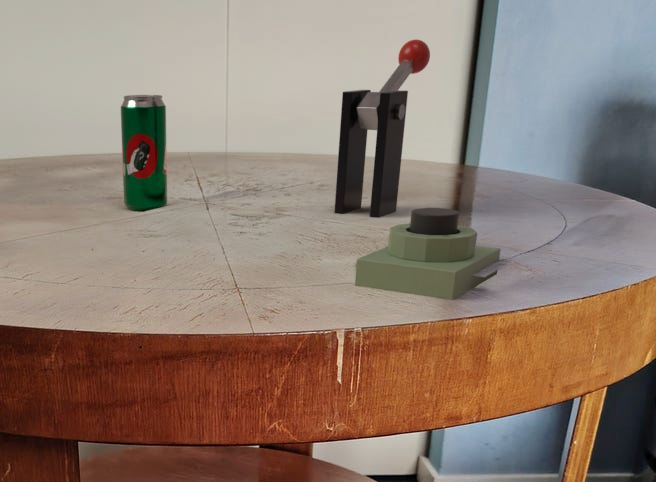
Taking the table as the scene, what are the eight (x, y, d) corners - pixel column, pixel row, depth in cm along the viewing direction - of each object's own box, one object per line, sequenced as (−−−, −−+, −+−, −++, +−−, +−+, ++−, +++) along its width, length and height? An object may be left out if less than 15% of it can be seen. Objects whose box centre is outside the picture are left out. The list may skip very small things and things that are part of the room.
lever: (407, 63, 97) (404, 33, 94) (435, 63, 95) (433, 33, 92) (355, 133, 91) (350, 103, 89) (384, 134, 89) (380, 104, 87)
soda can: (175, 208, 105) (173, 95, 99) (136, 212, 102) (133, 97, 97) (154, 203, 109) (152, 94, 103) (116, 206, 106) (112, 95, 101)
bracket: (336, 213, 101) (345, 88, 95) (430, 223, 95) (446, 90, 89) (297, 226, 94) (304, 92, 88) (395, 237, 89) (409, 94, 83)
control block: (496, 275, 74) (504, 225, 72) (452, 301, 67) (459, 246, 65) (405, 263, 78) (410, 216, 76) (354, 286, 71) (358, 235, 69)
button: (463, 233, 71) (466, 210, 70) (446, 240, 69) (449, 217, 68) (419, 228, 73) (422, 206, 72) (401, 235, 70) (404, 212, 70)
